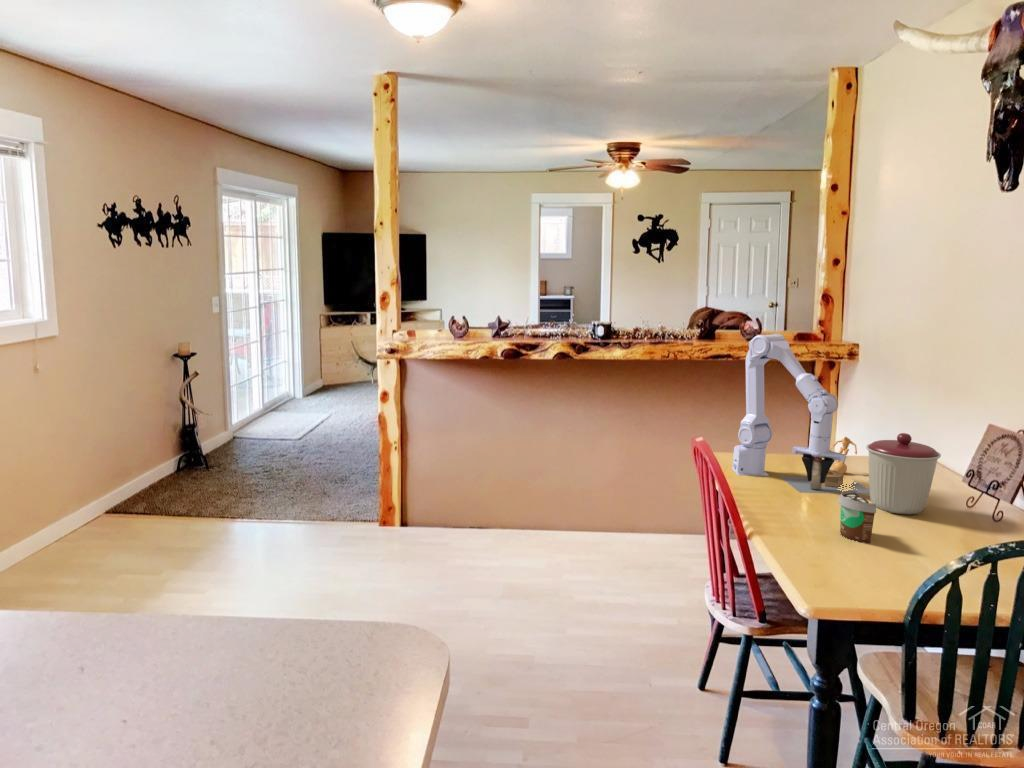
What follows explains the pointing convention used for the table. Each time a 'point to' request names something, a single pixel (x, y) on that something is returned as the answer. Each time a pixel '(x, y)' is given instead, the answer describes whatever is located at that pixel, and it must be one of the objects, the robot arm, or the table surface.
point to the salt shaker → (816, 473)
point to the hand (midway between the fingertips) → (816, 481)
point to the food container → (856, 516)
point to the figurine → (846, 441)
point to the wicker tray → (833, 479)
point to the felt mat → (804, 486)
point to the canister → (901, 474)
